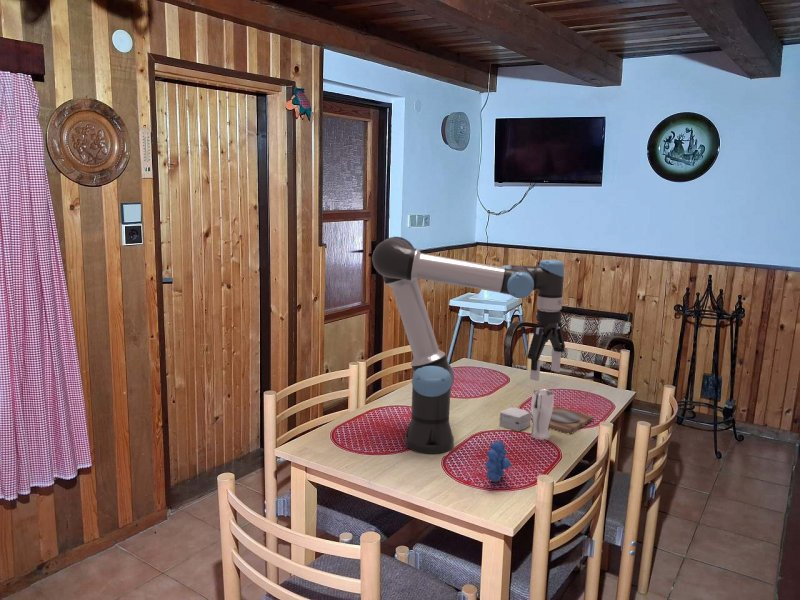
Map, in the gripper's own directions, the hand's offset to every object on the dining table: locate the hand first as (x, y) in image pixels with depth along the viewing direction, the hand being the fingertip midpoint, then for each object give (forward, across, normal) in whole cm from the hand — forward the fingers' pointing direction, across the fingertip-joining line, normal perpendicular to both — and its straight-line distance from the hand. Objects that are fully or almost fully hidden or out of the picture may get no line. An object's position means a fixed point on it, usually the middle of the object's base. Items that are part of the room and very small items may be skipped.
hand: (545, 375), depth 209 cm
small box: (+21, +3, +12) cm, 24 cm away
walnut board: (+21, +18, +1) cm, 27 cm away
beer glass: (+21, 0, 0) cm, 21 cm away
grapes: (+21, -38, -8) cm, 44 cm away
